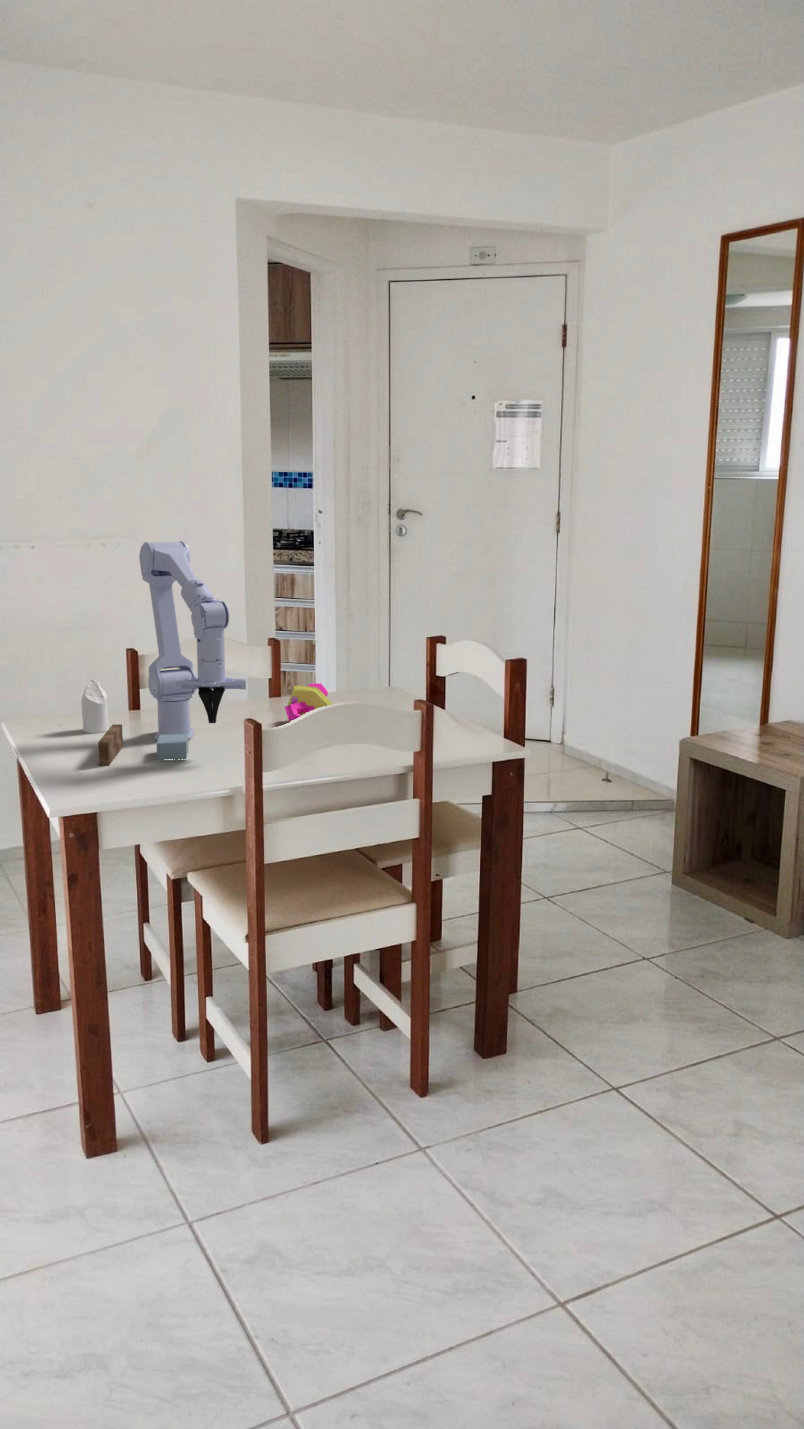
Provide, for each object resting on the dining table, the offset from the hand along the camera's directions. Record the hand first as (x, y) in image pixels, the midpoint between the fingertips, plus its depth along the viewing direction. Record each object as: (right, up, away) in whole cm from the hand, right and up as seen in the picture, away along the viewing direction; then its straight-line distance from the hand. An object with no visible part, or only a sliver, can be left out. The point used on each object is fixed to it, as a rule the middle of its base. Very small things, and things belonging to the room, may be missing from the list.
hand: (212, 722), depth 240 cm
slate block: (-9, -7, +1) cm, 11 cm away
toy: (+18, -1, +34) cm, 38 cm away
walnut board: (-22, -7, 0) cm, 23 cm away
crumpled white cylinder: (-31, -2, +23) cm, 38 cm away
